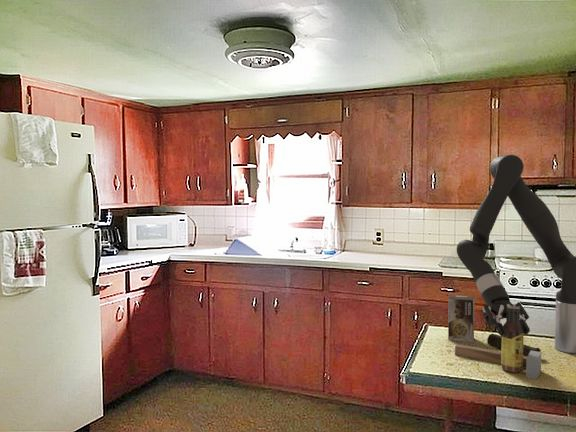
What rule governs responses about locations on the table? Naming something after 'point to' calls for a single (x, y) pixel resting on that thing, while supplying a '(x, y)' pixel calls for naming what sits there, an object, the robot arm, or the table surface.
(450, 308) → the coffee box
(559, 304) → the robot arm
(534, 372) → the end stop
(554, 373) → the table surface
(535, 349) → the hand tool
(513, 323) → the sauce bottle
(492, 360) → the walnut straightedge
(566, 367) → the table surface
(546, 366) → the table surface
